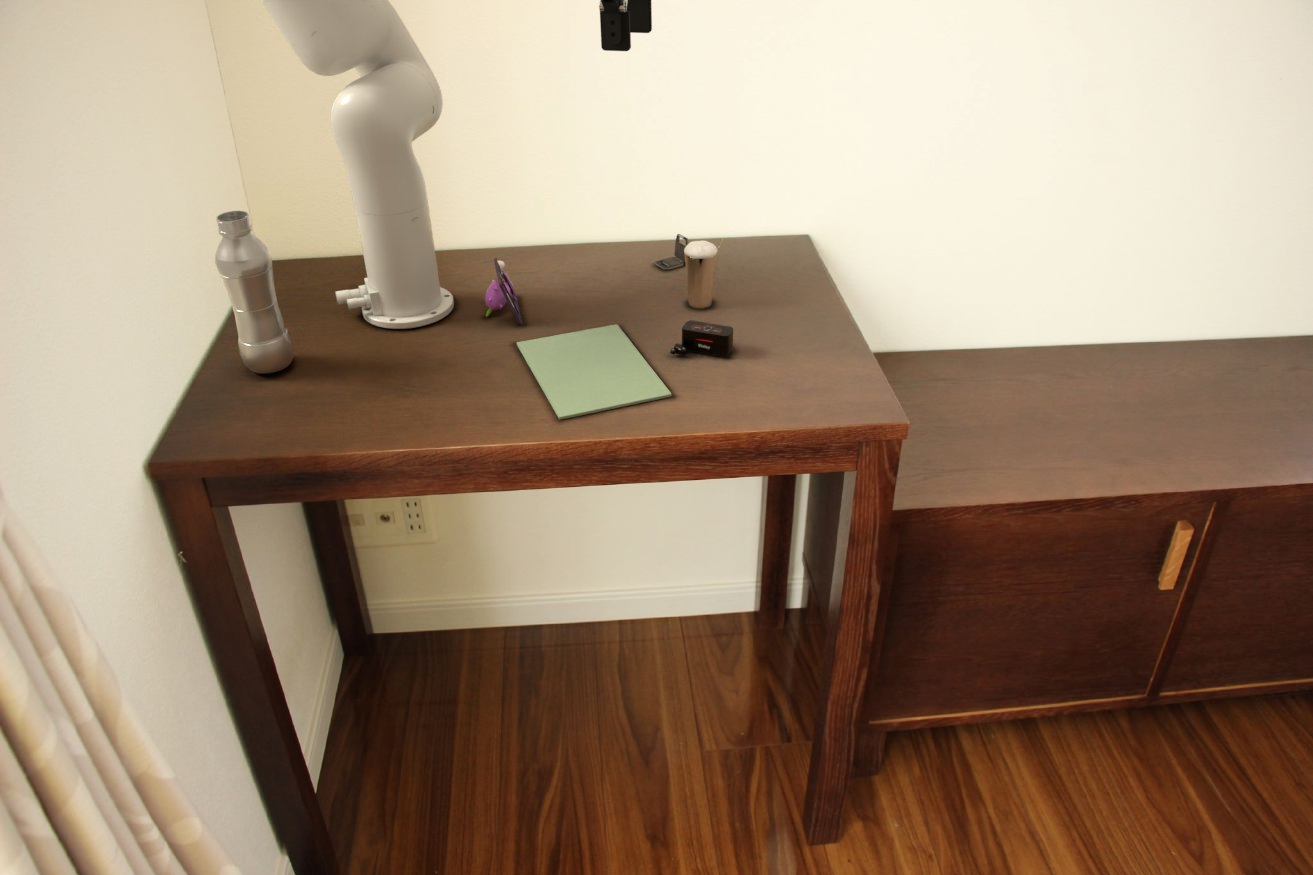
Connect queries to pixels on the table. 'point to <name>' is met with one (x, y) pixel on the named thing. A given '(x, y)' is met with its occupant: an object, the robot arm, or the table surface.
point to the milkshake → (700, 272)
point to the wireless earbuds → (705, 339)
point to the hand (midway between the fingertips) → (627, 41)
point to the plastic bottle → (252, 295)
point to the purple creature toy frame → (501, 293)
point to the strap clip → (679, 254)
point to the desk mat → (591, 371)
